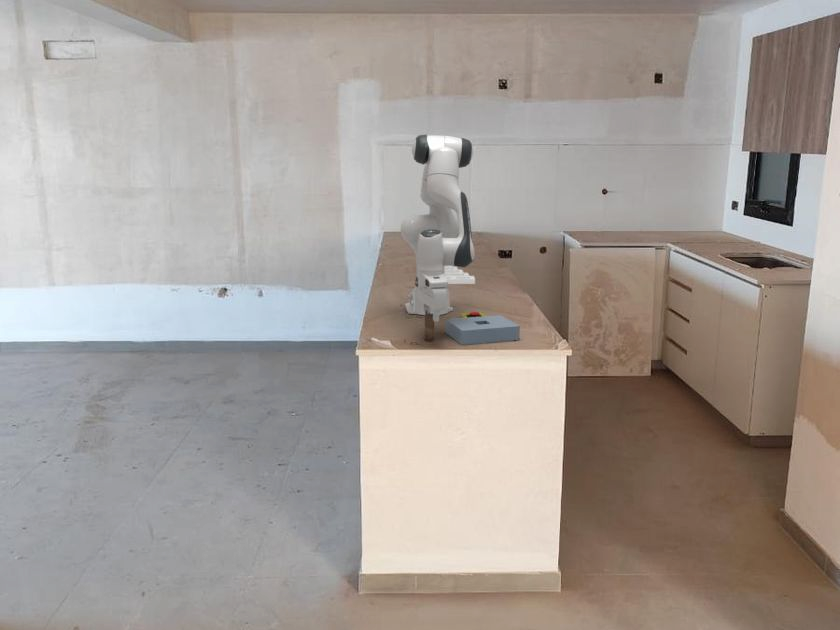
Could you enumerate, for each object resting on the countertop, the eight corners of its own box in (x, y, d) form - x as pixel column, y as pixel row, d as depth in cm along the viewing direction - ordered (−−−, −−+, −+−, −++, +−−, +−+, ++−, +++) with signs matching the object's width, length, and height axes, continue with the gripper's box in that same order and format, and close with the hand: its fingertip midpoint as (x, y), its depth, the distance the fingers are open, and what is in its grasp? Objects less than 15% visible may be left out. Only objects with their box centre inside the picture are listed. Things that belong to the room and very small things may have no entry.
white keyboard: (435, 268, 396) (435, 263, 396) (468, 268, 397) (468, 263, 396) (437, 284, 353) (437, 279, 352) (475, 284, 353) (475, 279, 352)
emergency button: (484, 309, 283) (490, 318, 269) (483, 320, 284) (490, 329, 270) (460, 309, 283) (465, 318, 268) (459, 320, 284) (465, 330, 269)
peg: (423, 339, 255) (423, 313, 253) (432, 338, 256) (432, 313, 254) (426, 341, 252) (426, 315, 250) (435, 340, 253) (435, 315, 251)
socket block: (445, 332, 264) (445, 319, 263) (500, 328, 270) (500, 315, 268) (461, 345, 248) (462, 330, 247) (519, 340, 254) (519, 326, 253)
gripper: (413, 274, 258) (413, 313, 261) (431, 283, 239) (432, 325, 242) (430, 273, 260) (430, 311, 263) (449, 282, 241) (450, 323, 244)
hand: (431, 318), depth 252 cm, fingers open, 8 cm apart
